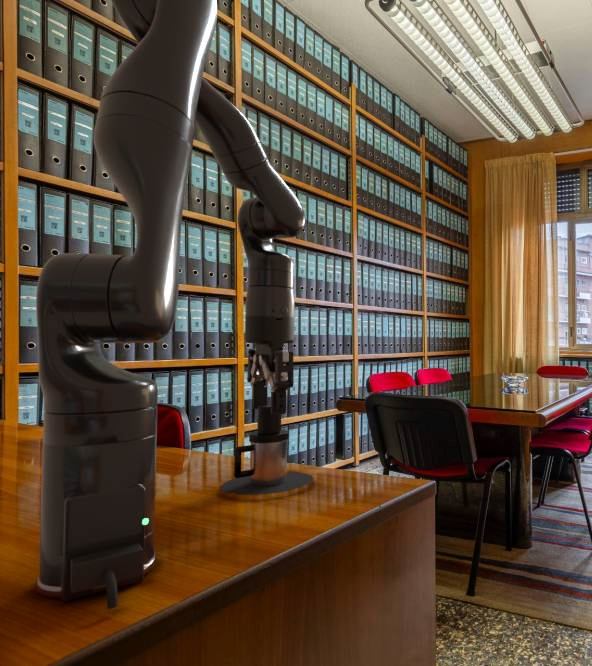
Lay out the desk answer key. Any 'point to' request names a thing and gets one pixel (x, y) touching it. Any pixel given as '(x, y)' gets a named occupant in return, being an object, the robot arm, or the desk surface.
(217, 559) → the desk surface
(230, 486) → the disc
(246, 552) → the desk surface
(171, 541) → the desk surface
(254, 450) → the steel travel mug
